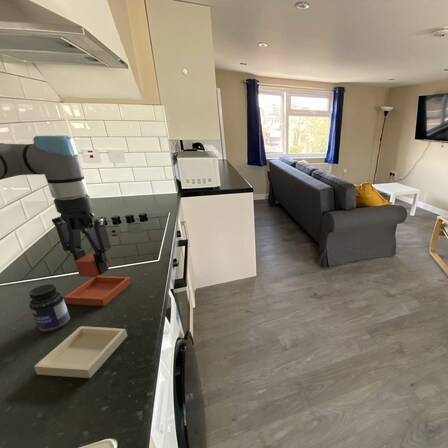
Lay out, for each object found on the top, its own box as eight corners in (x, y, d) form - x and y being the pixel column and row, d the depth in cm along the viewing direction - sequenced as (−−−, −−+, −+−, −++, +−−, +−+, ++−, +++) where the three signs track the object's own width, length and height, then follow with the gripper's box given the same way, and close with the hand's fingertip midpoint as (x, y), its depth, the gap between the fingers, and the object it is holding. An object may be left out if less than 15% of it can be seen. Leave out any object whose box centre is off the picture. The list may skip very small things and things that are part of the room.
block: (79, 276, 76) (74, 261, 74) (93, 267, 81) (88, 253, 79) (96, 277, 76) (91, 262, 74) (108, 268, 81) (104, 253, 79)
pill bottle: (32, 333, 65) (16, 297, 61) (53, 317, 71) (39, 282, 67) (58, 333, 65) (43, 297, 61) (77, 316, 71) (64, 282, 67)
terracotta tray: (66, 303, 76) (63, 297, 75) (97, 281, 87) (95, 275, 86) (104, 306, 75) (102, 299, 75) (130, 283, 86) (129, 277, 85)
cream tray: (37, 374, 55) (33, 366, 54) (82, 333, 66) (80, 326, 65) (90, 378, 54) (87, 370, 53) (127, 336, 65) (125, 328, 64)
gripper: (114, 193, 73) (131, 266, 81) (52, 191, 74) (76, 264, 82) (92, 201, 66) (114, 279, 74) (25, 199, 67) (54, 277, 75)
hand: (94, 271), depth 78 cm, fingers closed on block, 5 cm apart
